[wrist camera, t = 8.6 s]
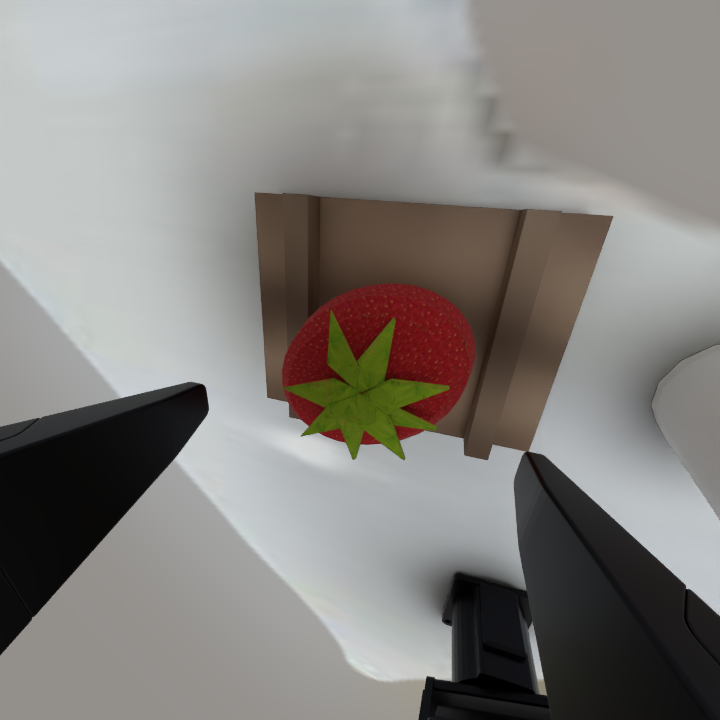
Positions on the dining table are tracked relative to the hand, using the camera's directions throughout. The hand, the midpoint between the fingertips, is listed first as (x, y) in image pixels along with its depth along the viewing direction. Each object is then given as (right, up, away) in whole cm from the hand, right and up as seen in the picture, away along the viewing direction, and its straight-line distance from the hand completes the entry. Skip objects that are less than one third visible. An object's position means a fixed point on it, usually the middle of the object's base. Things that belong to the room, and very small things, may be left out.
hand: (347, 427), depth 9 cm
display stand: (+3, +5, +10) cm, 12 cm away
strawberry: (+2, +4, +8) cm, 9 cm away
